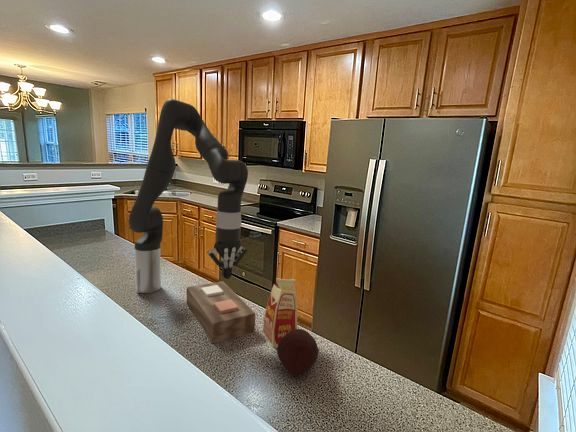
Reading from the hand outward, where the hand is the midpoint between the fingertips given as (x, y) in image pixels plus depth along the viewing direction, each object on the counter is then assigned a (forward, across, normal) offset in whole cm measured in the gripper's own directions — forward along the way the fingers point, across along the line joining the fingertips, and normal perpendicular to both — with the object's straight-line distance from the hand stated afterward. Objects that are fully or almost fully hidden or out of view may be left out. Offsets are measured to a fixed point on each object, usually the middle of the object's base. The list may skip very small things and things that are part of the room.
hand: (226, 277), depth 100 cm
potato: (+17, -9, +29) cm, 34 cm away
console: (+17, 0, -6) cm, 18 cm away
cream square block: (+13, 0, -13) cm, 19 cm away
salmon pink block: (+13, 0, 0) cm, 13 cm away
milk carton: (+17, -13, +14) cm, 25 cm away
